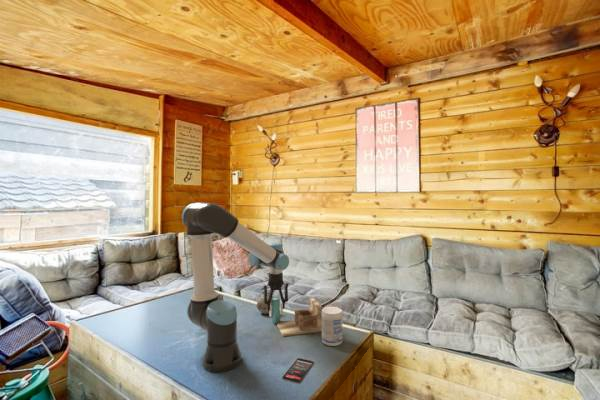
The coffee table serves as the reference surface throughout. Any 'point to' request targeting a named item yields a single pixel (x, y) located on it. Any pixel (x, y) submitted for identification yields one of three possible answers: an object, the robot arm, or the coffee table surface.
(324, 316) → the supplement tub
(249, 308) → the coffee table surface
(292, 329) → the jig
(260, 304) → the decorative stone
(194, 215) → the robot arm
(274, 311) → the dowel
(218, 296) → the ruin model on sheet
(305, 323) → the block
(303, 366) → the smartphone
